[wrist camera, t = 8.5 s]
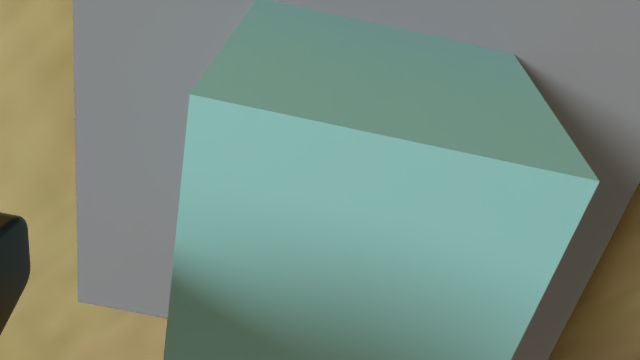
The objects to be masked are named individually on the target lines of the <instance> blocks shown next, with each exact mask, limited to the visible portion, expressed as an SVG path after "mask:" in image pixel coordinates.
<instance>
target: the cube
mask: <svg viewBox="0 0 640 360" xmlns="http://www.w3.org/2000/svg"><path fill="white" fill-rule="evenodd" d="M599 182H600V181H599V180H598V178H597V177H596V175H595V174H594V172H593V171H592V169H591V168H590V166H589V165H588V163H587V162H586V160H585V159H584V158H583V156H582V155H581V153H580V152H579V150H578V149H577V147H576V146H575V144H574V143H573V141H572V140H571V138H570V137H569V135H568V134H567V132H566V131H565V129H564V128H563V126H562V125H561V123H560V122H559V120H558V119H557V117H556V116H555V114H554V113H553V112H552V110H551V109H550V107H549V106H548V104H547V103H546V101H545V100H544V98H543V97H542V95H541V94H540V92H539V91H538V89H537V88H536V86H535V85H534V83H533V82H532V80H531V79H530V77H529V76H528V74H527V73H526V71H525V70H524V69H523V67H522V66H521V64H520V63H519V61H518V60H517V58H516V57H515V55H514V54H512V53H508V52H503V51H498V50H494V49H489V48H485V47H480V46H476V45H471V44H467V43H462V42H457V41H453V40H448V39H444V38H439V37H435V36H430V35H426V34H421V33H416V32H412V31H407V30H403V29H398V28H394V27H389V26H385V25H380V24H375V23H371V22H366V21H362V20H357V19H353V18H348V17H344V16H339V15H334V14H330V13H325V12H321V11H316V10H312V9H307V8H303V7H298V6H293V5H289V4H284V3H280V2H275V1H271V0H256V1H255V2H254V4H253V5H252V6H251V8H250V9H249V11H248V12H247V13H246V15H245V16H244V18H243V19H242V21H241V22H240V23H239V25H238V26H237V28H236V29H235V30H234V32H233V33H232V35H231V36H230V38H229V39H228V40H227V42H226V43H225V45H224V46H223V48H222V49H221V50H220V52H219V53H218V55H217V56H216V57H215V59H214V60H213V62H212V63H211V65H210V66H209V67H208V69H207V70H206V72H205V73H204V75H203V76H202V77H201V79H200V80H199V82H198V83H197V84H196V86H195V87H194V89H193V90H192V92H191V93H190V96H189V106H188V116H187V126H186V136H185V147H184V157H183V167H182V177H181V187H180V197H179V208H178V218H177V228H176V238H175V248H174V258H173V269H172V279H171V289H170V299H169V309H168V319H167V329H166V340H165V350H164V360H511V359H512V357H513V355H514V353H515V351H516V349H517V347H518V345H519V343H520V341H521V339H522V337H523V335H524V333H525V330H526V328H527V326H528V324H529V322H530V320H531V318H532V316H533V314H534V312H535V310H536V308H537V306H538V304H539V302H540V300H541V298H542V296H543V294H544V292H545V290H546V288H547V286H548V284H549V282H550V280H551V278H552V276H553V274H554V272H555V270H556V268H557V266H558V264H559V262H560V260H561V258H562V256H563V254H564V252H565V250H566V248H567V246H568V244H569V242H570V240H571V238H572V236H573V234H574V232H575V230H576V228H577V226H578V224H579V222H580V220H581V218H582V216H583V214H584V212H585V210H586V208H587V206H588V204H589V202H590V200H591V198H592V196H593V194H594V192H595V190H596V188H597V186H598V184H599Z"/></svg>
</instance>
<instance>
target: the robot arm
mask: <svg viewBox="0 0 640 360" xmlns="http://www.w3.org/2000/svg"><path fill="white" fill-rule="evenodd" d="M29 274H30V255H29V240H28V228H27V223H26V221H25V220H24V219H23V218H22V217H20V216H17V215H11V214H6V213H1V212H0V335H1V333H2V331H3V329H4V327H5V325H6V323H7V321H8V319H9V317H10V315H11V313H12V312H13V310H14V308H15V306H16V304H17V302H18V300H19V298H20V296H21V294H22V292H23V290H24V288H25V286H26V284H27V281H28V278H29Z"/></svg>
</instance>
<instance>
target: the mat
mask: <svg viewBox="0 0 640 360" xmlns="http://www.w3.org/2000/svg"><path fill="white" fill-rule="evenodd" d="M255 1H256V0H73V39H74V92H75V145H76V197H77V250H78V302H82V303H88V304H93V305H98V306H104V307H109V308H114V309H120V310H125V311H130V312H136V313H141V314H146V315H152V316H157V317H162V318H168V309H169V299H170V289H171V279H172V269H173V258H174V248H175V238H176V228H177V218H178V208H179V197H180V187H181V177H182V167H183V157H184V147H185V136H186V126H187V116H188V106H189V96H190V93H191V92H192V90H193V89H194V87H195V86H196V84H197V83H198V82H199V80H200V79H201V77H202V76H203V75H204V73H205V72H206V70H207V69H208V67H209V66H210V65H211V63H212V62H213V60H214V59H215V57H216V56H217V55H218V53H219V52H220V50H221V49H222V48H223V46H224V45H225V43H226V42H227V40H228V39H229V38H230V36H231V35H232V33H233V32H234V30H235V29H236V28H237V26H238V25H239V23H240V22H241V21H242V19H243V18H244V16H245V15H246V13H247V12H248V11H249V9H250V8H251V6H252V5H253V4H254V2H255ZM271 1H275V2H280V3H284V4H289V5H293V6H298V7H303V8H307V9H312V10H316V11H321V12H325V13H330V14H334V15H339V16H344V17H348V18H353V19H357V20H362V21H366V22H371V23H375V24H380V25H385V26H389V27H394V28H398V29H403V30H407V31H412V32H416V33H421V34H426V35H430V36H435V37H439V38H444V39H448V40H453V41H457V42H462V43H467V44H471V45H476V46H480V47H485V48H489V49H494V50H498V51H503V52H508V53H512V54H514V55H515V57H516V58H517V60H518V61H519V63H520V64H521V66H522V67H523V69H524V70H525V71H526V73H527V74H528V76H529V77H530V79H531V80H532V82H533V83H534V85H535V86H536V88H537V89H538V91H539V92H540V94H541V95H542V97H543V98H544V100H545V101H546V103H547V104H548V106H549V107H550V109H551V110H552V112H553V113H554V114H555V116H556V117H557V119H558V120H559V122H560V123H561V125H562V126H563V128H564V129H565V131H566V132H567V134H568V135H569V137H570V138H571V140H572V141H573V143H574V144H575V146H576V147H577V149H578V150H579V152H580V153H581V155H582V156H583V158H584V159H585V160H586V162H587V163H588V165H589V166H590V168H591V169H592V171H593V172H594V174H595V175H596V177H597V178H598V180H599V181H600V182H599V184H598V186H597V188H596V190H595V192H594V194H593V196H592V198H591V200H590V202H589V204H588V206H587V208H586V210H585V212H584V214H583V216H582V218H581V220H580V222H579V224H578V226H577V228H576V230H575V232H574V234H573V236H572V238H571V240H570V242H569V244H568V246H567V248H566V250H565V252H564V254H563V256H562V258H561V260H560V262H559V264H558V266H557V268H556V270H555V272H554V274H553V276H552V278H551V280H550V282H549V284H548V286H547V288H546V290H545V292H544V294H543V296H542V298H541V300H540V302H539V304H538V306H537V308H536V310H535V312H534V314H533V316H532V318H531V320H530V322H529V324H528V326H527V328H526V330H525V333H524V335H523V337H522V339H521V341H520V343H519V345H518V347H517V349H516V351H515V353H514V355H513V357H512V359H511V360H548V359H549V357H550V355H551V353H552V351H553V349H554V347H555V345H556V343H557V341H558V339H559V337H560V336H561V334H562V332H563V330H564V328H565V326H566V324H567V322H568V320H569V318H570V316H571V314H572V312H573V310H574V308H575V307H576V305H577V303H578V301H579V299H580V297H581V295H582V293H583V291H584V289H585V287H586V285H587V283H588V281H589V279H590V278H591V276H592V274H593V272H594V270H595V268H596V266H597V264H598V262H599V260H600V258H601V256H602V254H603V252H604V250H605V249H606V247H607V245H608V243H609V241H610V239H611V237H612V235H613V233H614V231H615V229H616V227H617V225H618V223H619V221H620V220H621V218H622V216H623V214H624V212H625V210H626V208H627V206H628V204H629V202H630V200H631V198H632V196H633V194H634V192H635V191H636V189H637V187H638V185H639V183H640V0H271Z"/></svg>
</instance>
